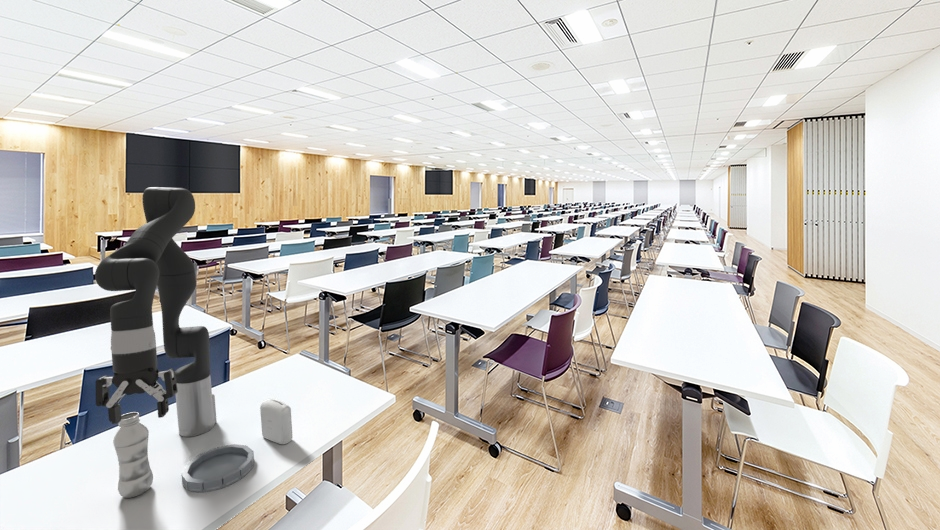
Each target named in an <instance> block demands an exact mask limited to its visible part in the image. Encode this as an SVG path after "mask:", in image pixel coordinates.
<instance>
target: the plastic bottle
mask: <svg viewBox="0 0 940 530" xmlns="http://www.w3.org/2000/svg"><path fill="white" fill-rule="evenodd" d="M121 417H122V419H121V421H120V422H118V427H119V429H118V430H117V432H116V434H115V435H114V437H113V442H112V443H113V447H114V450H115V453H116V456H117V461H118V467H119V468H118V469H119V470H118V473H119V474H118V483H117V491H118V494H119V496H120V497H122V498H124V499H131V498H134V497H138V496H140V495H142V494H144V493H145V492H147V491H148V490H149V489H150V487H151V486H152V484H153V482H154V473H153V470H152V468H151V466H150V465H151V464H150V460H149V453H148V449H149V448H148V446H149V433H150V432H149V429H148V428H147V426H145V424H143V423H141V422H140V421H141V417H140V414H139V412H136V411H131V412H128V413H124V414H121Z"/></svg>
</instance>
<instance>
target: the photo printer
mask: <svg viewBox="0 0 940 530" xmlns="http://www.w3.org/2000/svg"><path fill="white" fill-rule="evenodd" d="M259 409H260V410H259V411H260V424H261V435H262V437H263V438H264V439H266V440H269V441H271V442H273V443H276V444H278V445H279V444H280V445H286V444H288V443H290V442H292V439H293V424H292V410H291V407H290V406H289V404H287V403H286V402H284V401H282V400H280V399H278V398H277V399H276V398H267V399H266V400H263V401H262V402H261V403H260V408H259Z"/></svg>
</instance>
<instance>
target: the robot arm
mask: <svg viewBox="0 0 940 530" xmlns="http://www.w3.org/2000/svg"><path fill="white" fill-rule="evenodd" d="M142 209H143V214H144V217H145V221H146V223H144V224H143V225H141V226H139V227H138V228H137V229H136V230H135V231H134V232H132V234H131V236H130V237H129V238H128V239H127V241H126V242H125V244H124V245H123V246H121V247H119V248H118V249H116V250H115V251H113V252H112V253H110V254H109V255H107V256H106V257H104V259H102V261H100V263H99V264H98V265H97V267H96V269H95V273H94V279H95V282H96V284H97V285H98V287H99V288H101V289H102V290H105V291H109V292H121V291H122V292H125V291H135V293H134V295H133V296H132V298H131V299H128V300H125V301H124V300H123V301H120V302H116V303H114V304H112V305H111V306H110V309H109V311H110V312H109V315H110V330H111V334H110V352H111V361H112V363H111V365H112V372H113V376H108V375H104V376H102V377H99V378H98V379H96V380H95V406H96V407H101V406H102V407H106V408H107V412H108V413H107V415H108V421H109V422H111V424H113V425H115V424H119V422H120V421H121V419H122V417H121V416H122V408H121V406H122V405H121V404H120V403H119V402H120V401H121V400H122V399H123V397H124V396H125V395H127V396H130V395H133V394H134V395H136V394H140V395H141V394H145V393H147V394H148V395H149V396H152V397H154V398H155V400H157V402H156V405H157V406H156V408H157V417H158V418H159V419H161V418H164V417H165V416H166V414H168V413H169V410H170V407H169V399H171V398H172V397H174V396H175V404H176V405H175V406H176V414H177V427H178V434H179V435H180V437H186V438H187V437H188V438H191V437H195V436H199V435H202V434H204V433H207V432H209V431H211V430H212V428H214V426H215V424H216V423H217V410H216V409H217V408H216V398H215V394H213V392H212V391H213V390H212V389H213V388H212V379H211V377H212V376H211V357H210V355H211V354H210V334H209V333H210V332H209V330H208V328H207V327H206V326H202V325H200V326H198V325H197V326H186V327H185V326H184V327H183V326H182V327H180V323H179V322H180V316H181V313H182V311H183V310H184V307H185V306H186V304H187V303H188V302H189V300H190V298H191V297H192V295H193V294H194V292H195V290H196V287H197V279H196V278H197V277H196V268H195V264H194V262H193V261H192V259H191V258H190V256H189V255H188V254H187V253H186V252H185V251H184V250H183V249H182V248H181V247H180V246H179V245H178V244H177V242H176V241H175V240H174V239H173V238H174V237H175V236H176V234H178V233H179V232H180V231H182V229H183V228H184V227H185V226H186V225H187V224H188V222H190V220H191V219H192V218H193V216H194V214H195V211H196V201H195V197H194V195H193V193H192V192H191V190H188V189H187V188H183V187H159V186H151V187H147V188H145V189H144V191H143V194H142ZM156 289H157V290H158V295H159V302H160V309H161V318H162V319H161V320H162V321H161V322H162V339H163V341H162V342H163V349H164V352H165V355H166V356H167V358H169V359H185V358H194V361H191V362H189V363H187V364H185V365H183V366H180V367H179V368H177V369H176V370H175V369H174V368H170V369H168V370H164V371H160V370H159V369H158V354H157V342H156V332H155V330H154V322H153V304H154V299H155V293H156ZM159 378H161V381H163V382H164V386H165V389H164V387H163V385H162V384H160V383H159V382H158V380H159ZM112 384H113V385H114V386H115V387H117V389H116V390H115V392H114V393H113V394H112V395H111V397H110V386H112Z"/></svg>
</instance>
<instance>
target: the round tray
mask: <svg viewBox="0 0 940 530" xmlns="http://www.w3.org/2000/svg"><path fill="white" fill-rule="evenodd" d="M254 453H255V452H254V450H253V449H252V448H250V447H249V446H248V445H247V444H246V445H244V444H235V443H234V444H227V445H223V446H217V447H214V448H212V449H209V450H207V451H205V452H202V453H200V454H198V455H197V456H195V457H193V458H192V459H191V460H190V461H188V462H187V463H186V464H185V465H184V468H183V469H182V472H181V475H180V476H181V484H182V486H183V488H184V489H186V490H187V491H189V492H193V493H207V492H213V491H217V490H220V489H221V490H222V489H225V488H226V487H229V486H231V485H233V484H235V483H237V482H239V481H241V480H242V479H243V478H245V477H246V476H247V475H248V474H249V473H250V471H251V470H252V469H253V467H254V465H255V455H254Z"/></svg>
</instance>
